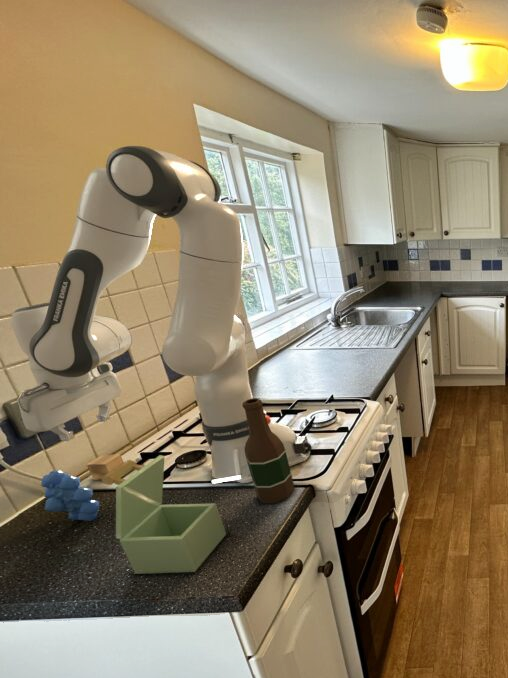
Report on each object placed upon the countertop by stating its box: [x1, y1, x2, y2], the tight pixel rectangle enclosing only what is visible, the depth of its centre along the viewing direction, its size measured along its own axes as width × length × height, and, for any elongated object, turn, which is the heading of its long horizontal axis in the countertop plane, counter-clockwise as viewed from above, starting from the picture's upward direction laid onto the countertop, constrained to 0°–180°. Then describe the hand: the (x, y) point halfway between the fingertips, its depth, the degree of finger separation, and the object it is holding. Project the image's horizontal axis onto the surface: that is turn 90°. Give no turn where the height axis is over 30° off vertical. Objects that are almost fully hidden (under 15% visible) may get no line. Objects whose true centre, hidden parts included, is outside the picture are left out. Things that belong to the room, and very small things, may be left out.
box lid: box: [101, 454, 165, 540], centre depth 73 cm, size 11×10×5 cm
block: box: [86, 453, 125, 481], centre depth 102 cm, size 4×4×4 cm
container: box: [119, 503, 227, 575], centre depth 78 cm, size 11×10×8 cm
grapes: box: [40, 470, 100, 522], centre depth 85 cm, size 12×7×12 cm, turn 77°
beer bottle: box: [242, 397, 295, 504], centre depth 91 cm, size 8×8×24 cm
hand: (87, 429), depth 98 cm, fingers open, 8 cm apart
